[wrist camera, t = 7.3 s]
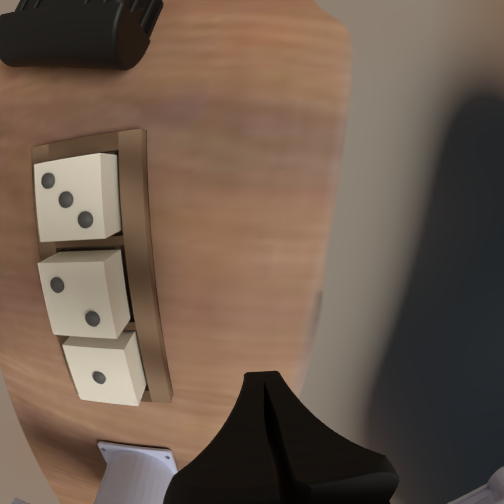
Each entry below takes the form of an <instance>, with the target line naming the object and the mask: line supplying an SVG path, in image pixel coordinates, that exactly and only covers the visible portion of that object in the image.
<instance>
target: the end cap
mask: <svg viewBox="0 0 504 504" xmlns="http://www.w3.org/2000/svg"><path fill="white" fill-rule="evenodd" d="M162 8H163V1H162V0H20V2H19V4H18V6H17V8H16V10H15V12H11V13H6V14H2V15H1V16H0V59H1V60H2V61H3V62H4V63H5V64H6V65H8V66H11V67H30V66H65V67H89V68H103V69H115V70H128V69H131V68H133V67H134V66H135V65H136V64H137V63H138V62H139V61H140V60H141V58H142V57H143V55H144V54H145V52H146V50H147V48H148V46H149V44H150V40H149V38H150V36H151V33H152V31H153V28H154V26H155V24H156V21H157V19H158V17H159V14H160V12H161V10H162Z"/></svg>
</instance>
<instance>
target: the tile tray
mask: <svg viewBox="0 0 504 504" xmlns="http://www.w3.org/2000/svg"><path fill="white" fill-rule="evenodd" d="M96 153H105V154H112V155H118V169H119V191H120V208H121V221H122V230H121V231H119V232H117V233H115V234H113V235H111V236H109V237H107V238H106V239H87V240H69V241H52V242H40V236H39V228H38V219H37V208H36V195H35V177H34V164H38V163H43V162H49V161H54V160H59V159H65V158H71V157H77V156H83V155H90V154H96ZM32 177H33V196H34V209H35V219H36V228H37V236H38V244H39V251H40V257H41V261H43V260H45V259H46V258H48V257H50V256H52V255H54V254H56V253H58V252H68V251H93V250H119V249H121V258H122V266H123V274H124V281H125V288H126V295H127V301H128V307H129V313H130V320H129V322H128V323H127V325H126V326H125V328H124V329H123V330H136V333H137V338H138V343H139V348H140V353H141V358H142V363H143V367H144V372H145V376H146V380H147V384H146V387H145V390H144V392H143V395H142V398H141V400H140V401H144V402H160V403H171V401H172V397H173V390H172V385H171V380H170V375H169V369H168V364H167V358H166V352H165V346H164V340H163V333H162V327H161V320H160V313H159V305H158V297H157V289H156V281H155V272H154V262H153V252H152V240H151V228H150V213H149V196H148V173H147V131H146V130H144V129H134V130H126V131H119V132H112V133H105V134H99V135H93V136H87V137H81V138H76V139H70V140H65V141H60V142H55V143H51V144H46V145H42V146H37V147H33V148H32ZM69 337H70V336H65V335H58V339H59V342H60V346H61V349H62V352H63V356H64V359H65V362H66V365H67V368H68V371H69V374H70V377H71V380H72V382H73V385H74V388H75V391H76V393H77V394H78V391H77V388H76V386H75V383H74V380H73V377H72V374H71V371H70V368H69V365H68V362H67V359H66V356H65V353H64V349H63V346H62V345H63V344H64V342H65V341H66V340H67V339H68V338H69Z"/></svg>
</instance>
